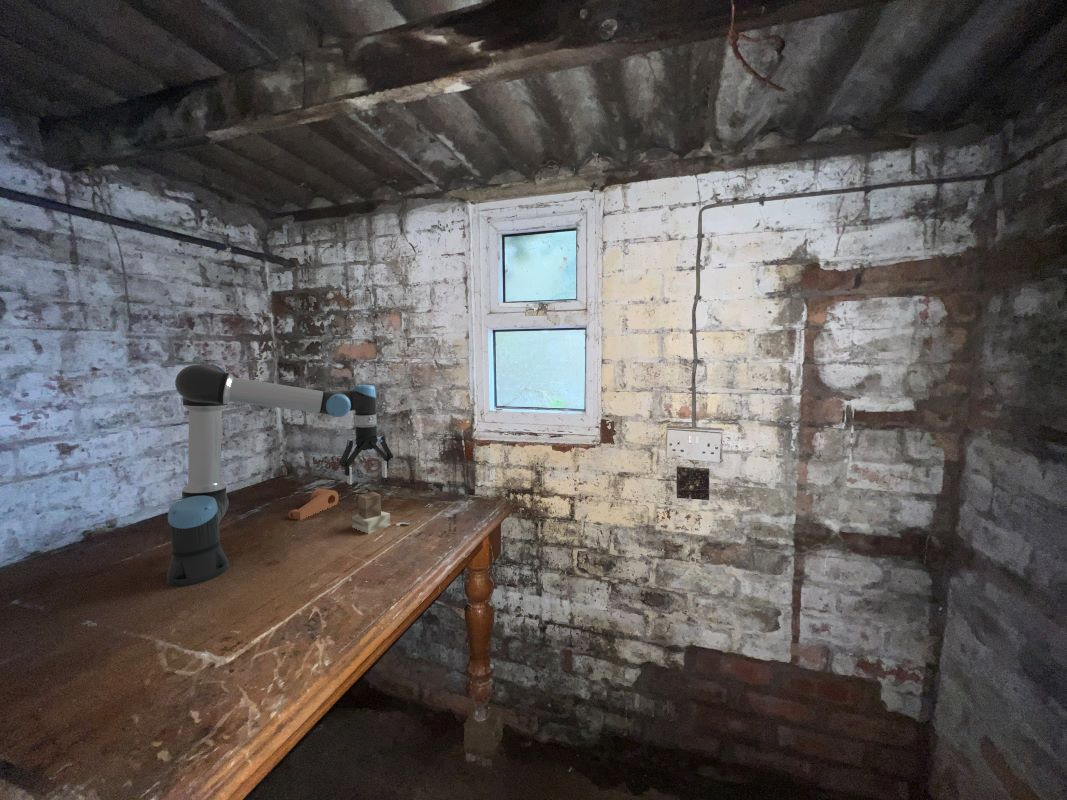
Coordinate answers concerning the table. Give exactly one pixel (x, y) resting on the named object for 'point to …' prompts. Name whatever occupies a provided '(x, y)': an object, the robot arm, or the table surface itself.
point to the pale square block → (371, 522)
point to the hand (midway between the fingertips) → (367, 480)
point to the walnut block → (369, 505)
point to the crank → (316, 504)
